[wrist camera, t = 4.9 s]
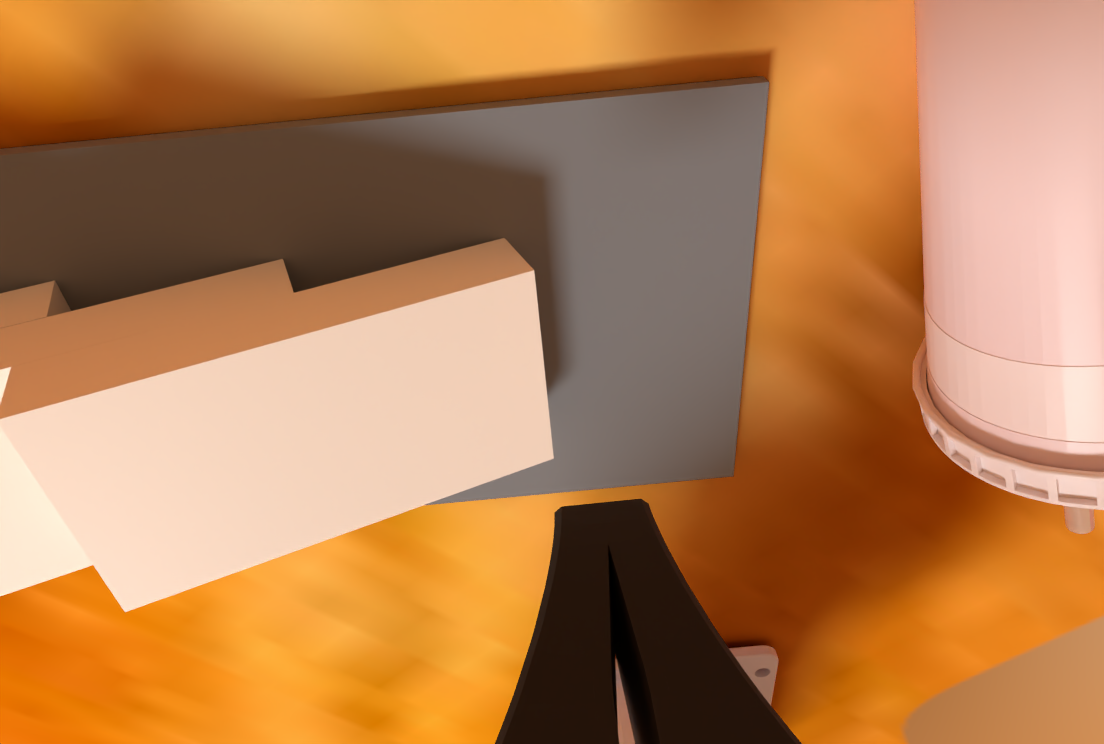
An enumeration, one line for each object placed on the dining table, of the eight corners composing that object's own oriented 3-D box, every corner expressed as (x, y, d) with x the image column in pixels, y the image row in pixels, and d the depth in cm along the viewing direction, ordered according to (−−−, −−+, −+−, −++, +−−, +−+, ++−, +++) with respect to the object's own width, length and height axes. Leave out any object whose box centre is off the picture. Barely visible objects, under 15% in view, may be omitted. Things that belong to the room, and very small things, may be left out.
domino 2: (533, 270, 14) (-4, 420, 12) (553, 458, 17) (125, 612, 14) (504, 237, 15) (11, 367, 13) (527, 418, 18) (127, 553, 16)
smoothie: (727, -14, 12) (889, 554, 19) (1217, -114, 6) (1190, 732, 13) (989, -177, 13) (1050, 405, 20) (1564, -367, 8) (1377, 512, 15)
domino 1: (293, 293, 14) (-297, 447, 12) (353, 477, 17) (-110, 632, 14) (282, 258, 15) (-253, 391, 13) (340, 436, 18) (-90, 573, 16)
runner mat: (729, 465, 20) (733, 476, 20) (-240, 555, 20) (-252, 568, 20) (762, 75, 14) (769, 81, 14) (-611, 207, 14) (-637, 215, 14)
